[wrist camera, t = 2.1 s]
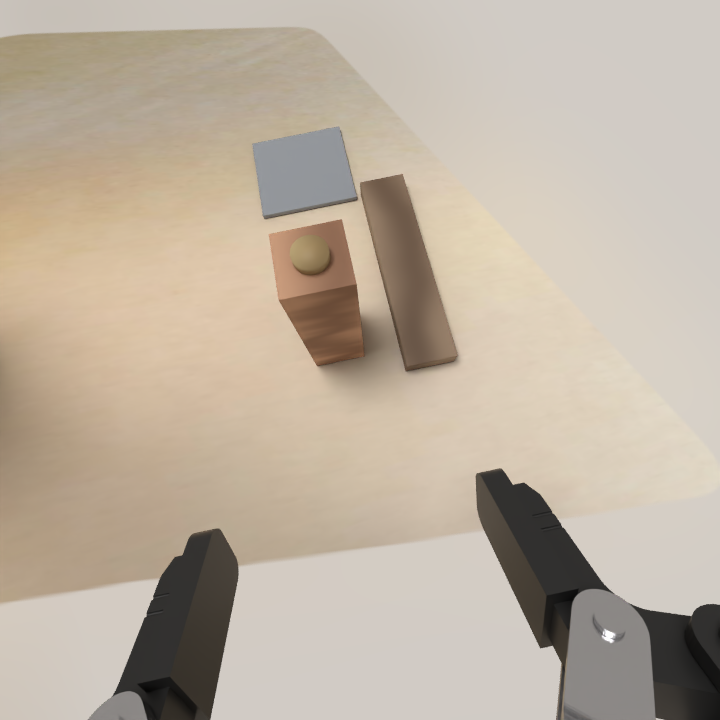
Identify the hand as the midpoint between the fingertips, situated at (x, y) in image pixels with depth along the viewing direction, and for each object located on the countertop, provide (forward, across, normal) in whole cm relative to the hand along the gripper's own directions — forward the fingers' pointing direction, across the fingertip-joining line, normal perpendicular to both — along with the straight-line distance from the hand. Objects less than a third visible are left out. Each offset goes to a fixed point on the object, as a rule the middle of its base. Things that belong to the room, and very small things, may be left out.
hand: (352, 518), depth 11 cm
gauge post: (+20, 0, +3) cm, 20 cm away
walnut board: (+24, -7, -1) cm, 25 cm away
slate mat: (+33, 0, -10) cm, 34 cm away
